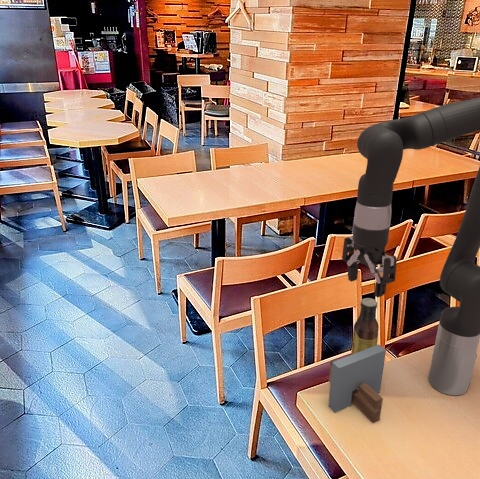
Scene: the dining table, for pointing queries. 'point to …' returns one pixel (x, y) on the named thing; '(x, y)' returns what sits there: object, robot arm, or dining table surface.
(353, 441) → the dining table surface
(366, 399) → the walnut board
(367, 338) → the sauce bottle
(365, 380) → the grey block
